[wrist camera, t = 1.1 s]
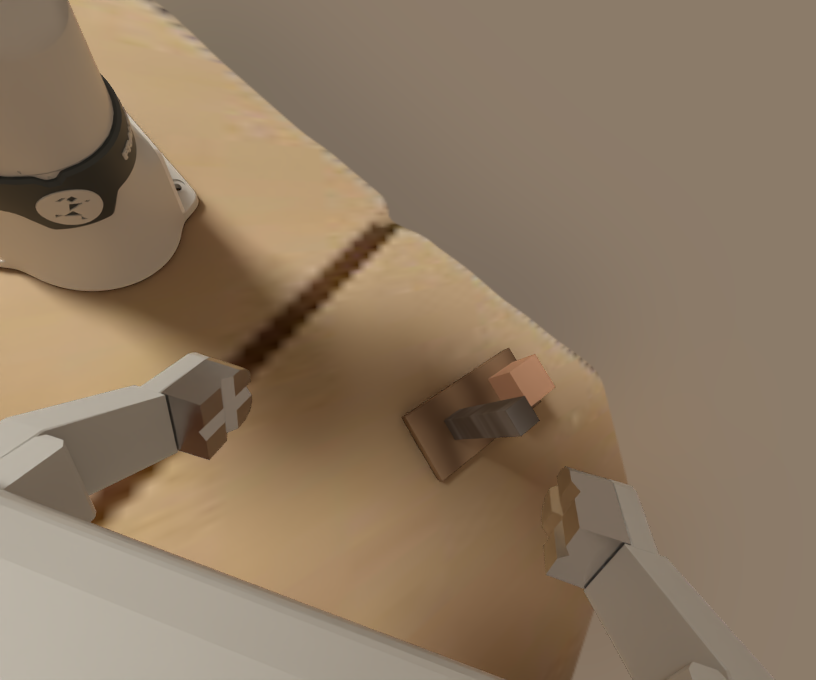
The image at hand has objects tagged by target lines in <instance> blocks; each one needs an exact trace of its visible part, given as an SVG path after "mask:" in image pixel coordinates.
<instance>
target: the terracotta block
mask: <svg viewBox="0 0 816 680" xmlns="http://www.w3.org/2000/svg"><path fill="white" fill-rule="evenodd" d="M488 380H489V382H490V383H491V385H492V387H493V388H494V390H495V392H496V393H497V395H498V397H499V398H500V400H506V399H511V398H516V397H521V396H525V397H526V399H527V400H528V402H529V404H530V405H531V406H533V405H534V404H535V403H536V402H538V401H539V400H540V399H541V398H543V397H544V396H545V395H546V394H548V393H549V392H550V391H551V390H553V389H554V388H555V386H554V384H553V382H552V381H551V379H550V378H549V376H548V374H547V373H546V371H545V369H544V368H543V366H542V364H541V363H540V361H539V360H538V358H537V356H536V355H535V354H534V355H531V356H528V357H525V358H523V359H520V360H517V361H514V362H512V363H510V364H509V365H507V366H506V367H504V368H503V369H502V370H500V371H499V372H497V373H496V374H494V375H493V376H492V377H490V378H489V379H488Z"/></svg>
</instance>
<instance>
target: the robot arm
mask: <svg viewBox="0 0 816 680" xmlns="http://www.w3.org/2000/svg"><path fill="white" fill-rule="evenodd" d="M176 188H180V189H181V190H180V191H177V190H176ZM198 203H199V200H198V197H197V195H196V193H195V191H194V190H193V189H192V188H191V186H190V185H189V184H188V183H187V182H186V181H185V179H184V178H183V177H182V176H181V175H180V174H179V172H178V171H177V170H176V169H175V168H174V167H173V166H172V164H171V163H170V162H169V161H168V160H167V159H166V157H165V156H164V155H163V154H162V153H161V152H160V151H159V149H158V148H157V147H156V146H155V145H154V144H153V142H152V141H151V140H150V139H149V138H148V137H147V135H146V134H145V133H144V132H143V131H142V130H141V129H140V127H139V126H138V125H137V124H136V123H135V122H134V120H133V119H132V118H131V117H130V116H129V115H128V114H127V112H126V111H125V109H124V107H122V104H121V102H120V100H119V99H118V97H117V96H116V94H115V92H114V90H113V89H112V87H111V86H110V84H109V83H108V81H107V80H106V79H105V78H104V77H103V76H102V75H101V74H100V72H99V70H98V68H97V65H96V63H95V61H94V58H93V56H92V54H91V52H90V49H89V47H88V45H87V42H86V40H85V38H84V36H83V33H82V31H81V29H80V26H79V24H78V22H77V19H76V17H75V15H74V12H73V10H72V8H71V6H70V3H69V1H68V0H0V267H3V268H12V269H17V270H20V271H22V272H25V273H27V274H29V275H31V276H33V277H35V278H37V279H39V280H41V281H44V282H46V283H49V284H52V285H55V286H58V287H62V288H67V289H73V290H81V291H103V290H111V289H117V288H121V287H125V286H129V285H132V284H134V283H137V282H139V281H142V280H144V279H146V278H148V277H149V276H151V275H153V274H154V273H155V272H157V271H158V270H159V269H161V268H162V267H163V266H164V265H165V264H166V263H167V262H168V261H169V260H170V258H171V257H172V256H173V254H174V252H175V251H176V249H177V247H178V244H179V242H180V238H181V234H182V229H183V225H184V223H185V221H186V220H187V219H188V217H189V216H190V215H191V214H192V213H193V212H194V210H195V209H196V208H197V206H198ZM250 382H251V379H250V371H248V370H247V369H245V368H242V367H239V366H236V365H233V364H230V363H227V362H224V361H221V360H218V359H215V358H211V357H208V356H205V355H202V354H199V353H196V352H194V353H188V354H187V355H186V356H184V357H183V358H181V359H180V360H178V361H177V362H175V363H174V364H172V365H171V366H170V367H168V368H167V369H165V370H164V371H162V372H161V373H159V374H158V375H156V376H155V377H154V378H152V379H151V380H149V381H148V382H146V383H145V384H143V385H142V386H140V387H139V386H136V385H133V386H129V387H125V388H121V389H117V390H113V391H109V392H105V393H102V394H98V395H94V396H90V397H86V398H82V399H78V400H74V401H70V402H66V403H62V404H59V405H55V406H51V407H47V408H43V409H39V410H35V411H31V412H27V413H23V414H19V415H15V416H12V417H8V418H5V419H3V420H2V421H0V680H506V679H503V678H501V677H498V676H496V675H493V674H490V673H488V672H485V671H482V670H480V669H477V668H474V667H472V666H469V665H466V664H464V663H461V662H458V661H456V660H453V659H451V658H448V657H445V656H443V655H440V654H437V653H435V652H432V651H429V650H427V649H424V648H421V647H419V646H416V645H413V644H411V643H408V642H406V641H403V640H400V639H398V638H395V637H392V636H390V635H387V634H384V633H382V632H379V631H376V630H374V629H371V628H368V627H366V626H363V625H361V624H358V623H355V622H353V621H350V620H347V619H345V618H342V617H339V616H337V615H334V614H331V613H329V612H326V611H323V610H321V609H318V608H316V607H313V606H310V605H308V604H305V603H302V602H300V601H297V600H294V599H292V598H289V597H286V596H284V595H281V594H278V593H276V592H273V591H271V590H268V589H265V588H263V587H260V586H257V585H255V584H252V583H249V582H247V581H244V580H241V579H239V578H236V577H233V576H231V575H228V574H226V573H223V572H220V571H218V570H215V569H212V568H210V567H207V566H204V565H202V564H199V563H196V562H194V561H191V560H188V559H186V558H183V557H180V556H178V555H175V554H172V553H170V552H167V551H165V550H162V549H159V548H157V547H154V546H151V545H149V544H146V543H143V542H141V541H138V540H135V539H133V538H130V537H127V536H125V535H122V534H119V533H117V532H114V531H111V530H109V529H106V528H103V527H101V526H98V525H96V524H93V523H90V522H91V521H92V520H93V519H94V518H95V514H96V510H95V508H94V506H93V504H92V502H91V499H90V497H89V495H91V494H93V493H95V492H97V491H99V490H101V489H103V488H105V487H108V486H110V485H112V484H114V483H116V482H118V481H120V480H122V479H124V478H126V477H128V476H130V475H132V474H134V473H136V472H138V471H140V470H142V469H144V468H146V467H148V466H151V465H153V464H155V463H157V462H159V461H161V460H163V459H165V458H167V457H169V456H171V455H173V454H175V453H177V452H178V450H179V451H182V452H185V453H188V454H192V455H195V456H198V457H201V458H205V459H208V460H210V459H211V457H212V456H213V455H214V454H215V453H216V452H217V451H218V450H219V449H220V448H221V447H222V446H223V444H224V443H225V442H226V441H227V433H228V432H230V431H233V430H235V429H238V428H239V427H240V426H241V425H242V423H243V422H244V421H245V420H246V418H247V416H248V414H249V412H250V409H251V404H252V395H251V393H250V392H249V390H248V389H247V387H246V386H247V385H248V384H249V383H250ZM557 483H558V485H557V486H554V487H552V488H549V490H548V492H547V494H546V496H545V498H544V502H543V506H542V513H541V522H542V529H543V530H544V532H545V533H546V535H547V536H548V539H547V541H546V542H545V544H544V545H543V549H544V561H545V573H546V575H548V576H551V577H553V578H556V579H559V580H562V581H564V582H567V583H570V584H572V585H575V586H578V587H580V588H583V589H585V590H584V592H585V594H586V596H587V598H588V600H589V601H590V603H591V605H592V607H593V609H594V611H595V612H596V614H597V616H598V618H599V620H600V621H601V623H602V625H603V627H604V629H605V630H606V632H607V634H608V636H609V638H610V639H611V641H612V643H613V645H614V647H615V649H616V650H617V652H618V654H619V656H620V658H621V659H622V661H623V663H624V665H625V667H626V669H627V670H628V672H629V674H630V676H631V677H632V679H633V680H775V679H774V678H773V677H772V675H771V674H770V673H769V672H768V671H767V670H766V669H765V668H764V666H763V665H762V664H761V663H760V662H759V661H758V660H757V659H756V657H755V656H754V655H753V654H752V653H751V652H750V651H749V650H748V649H747V647H746V646H745V645H744V644H743V643H742V642H741V641H740V639H739V638H738V637H737V636H736V635H735V634H734V633H733V632H732V630H731V629H730V628H729V627H728V626H727V625H726V624H725V623H724V622H723V621H722V619H721V618H720V617H719V616H718V615H717V614H716V612H715V611H714V610H713V609H712V608H711V607H710V606H709V605H708V603H707V602H706V601H705V600H704V599H703V598H702V597H701V596H700V594H699V593H698V592H697V591H696V590H695V589H694V588H693V587H692V585H691V584H690V583H689V582H688V581H687V580H686V579H685V578H684V576H682V574H681V573H680V572H679V571H678V570H677V569H676V568H675V566H674V565H673V564H672V563H671V562H670V561H669V560H668V558H667V557H664V556H661V555H659V553H658V550H657V547H656V545H655V542H654V539H653V536H652V534H651V531H650V528H649V525H648V522H647V520H646V516H645V514H644V511H643V508H642V505H641V502H640V500H639V497H638V494H637V491H636V490H635V488H634V487H633V486H631V485H628V484H624V483H621V482H617V481H614V480H610V479H606V478H603V477H600V476H596V475H593V474H590V473H586V472H583V471H579V470H576V469H573V468H569V467H566V466H565V467H564V468H562V469H561V470H560V472H559V473H558V475H557Z"/></svg>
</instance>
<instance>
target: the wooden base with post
mask: <svg viewBox="0 0 816 680" xmlns="http://www.w3.org/2000/svg"><path fill="white" fill-rule="evenodd" d="M514 361H517V360H516V359H515V357H514V355H513V354H512V352H511V350H510V349H509V348H507V349H505V350H503V351H501V352H500V353H498V354H497V355H495V356H494V357H492V358H491V359H489V360H488V361H486V362H485V363H483V364H482V365H480V366H479V367H477V368H476V369H474V370H473V371H471V372H470V373H468V374H467V375H465V376H464V377H462V378H461V379H459V380H458V381H456V382H455V383H453V384H452V385H450V386H449V387H447V388H446V389H444V390H443V391H441V392H440V393H438V394H437V395H435V396H434V397H432V398H430V399H429V400H427V401H426V402H424V403H423V404H421V405H420V406H418V407H417V408H415V409H414V410H412V411H411V412H409V413H408V414H406V415H405V416H403V417H402V419H403V421H404V423H405V424H406V426H407V428H408V429H409V431H410V433H411V435H412V436H413V438H414V440H415V441H416V443H417V445H418V447H419V448H420V450H421V452H422V454H423V455H424V457H425V459H426V460H427V462H428V464H429V466H430V467H431V469H432V471H433V473H434V474H435V476H436V478H437V479H438V480H440V481H443V480H445V479H446V478H447V477H448V476H450V475H451V474H452V473H453V472H455V471H456V470H457V469H458V468H459V467H461V466H462V465H463V464H464V463H466V462H467V461H468V460H469V459H471V458H472V457H473V456H474V455H476V454H477V453H478V452H479V451H481V450H482V449H483V448H484V447H486V446H487V445H488V444H489V443H491V442H492V441H493V440H494V439H495V438H498V437H517V436H522V435H523V434H524V433H526V432H527V431H528V430H529V429H530V428H531V427H533V426H534V425H535V424H536V423H537V422H539V421H540V420H539V419H538V417H537V415H536V414H535V412H534V410H533V408H534V407H535V406H536V405H538V404H539V403H540V402H541V400H539V401H538V402H536V403H535V404H534V405H533V406H531V405H530V404H529V402H528V400H527V399H526V397H525V396H521V397H516V398H511V399H506V400H500V398H499V397H498V395H497V393H496V392H495V390H494V388H493V387H492V385H491V383H490V382H489V380H488V379H489V378H490V377H492V376H493V375H494V374H496V373H497V372H499V371H500V370H502V369H503V368H504V367H506V366H507V365H509V364H510V363H512V362H514Z"/></svg>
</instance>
